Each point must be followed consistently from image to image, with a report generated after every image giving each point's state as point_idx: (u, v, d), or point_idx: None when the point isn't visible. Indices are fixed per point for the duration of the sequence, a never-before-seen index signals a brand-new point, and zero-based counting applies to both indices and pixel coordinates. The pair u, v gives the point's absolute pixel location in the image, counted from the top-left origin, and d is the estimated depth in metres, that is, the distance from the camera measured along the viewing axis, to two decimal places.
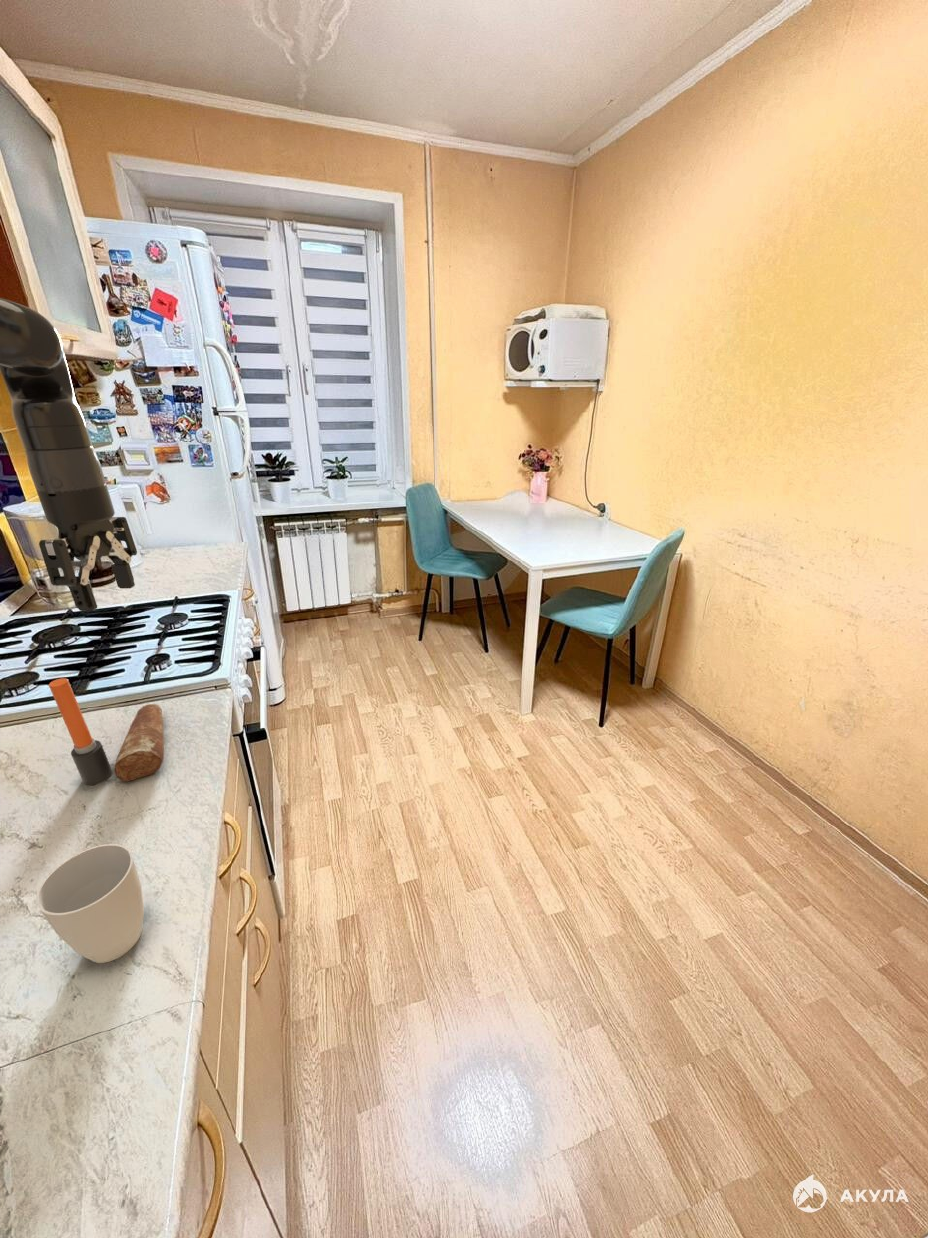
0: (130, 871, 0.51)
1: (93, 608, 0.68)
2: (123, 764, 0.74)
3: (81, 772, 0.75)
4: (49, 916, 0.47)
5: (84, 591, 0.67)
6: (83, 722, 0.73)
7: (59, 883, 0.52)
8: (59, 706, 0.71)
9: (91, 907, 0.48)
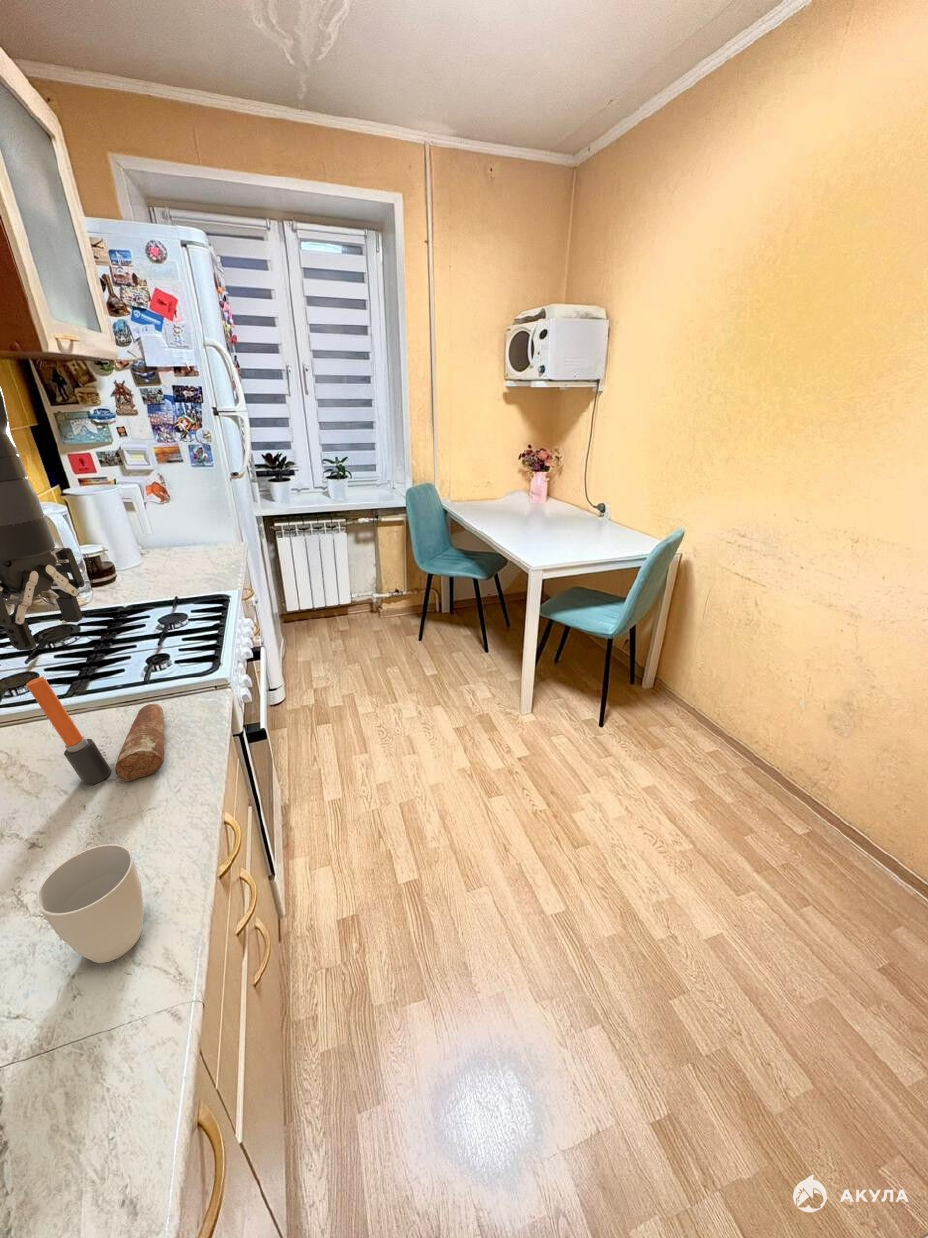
0: (130, 871, 0.51)
1: (31, 648, 0.64)
2: (124, 764, 0.74)
3: (77, 771, 0.75)
4: (49, 916, 0.47)
5: (21, 630, 0.63)
6: (68, 720, 0.73)
7: (59, 883, 0.52)
8: (40, 705, 0.71)
9: (91, 907, 0.48)
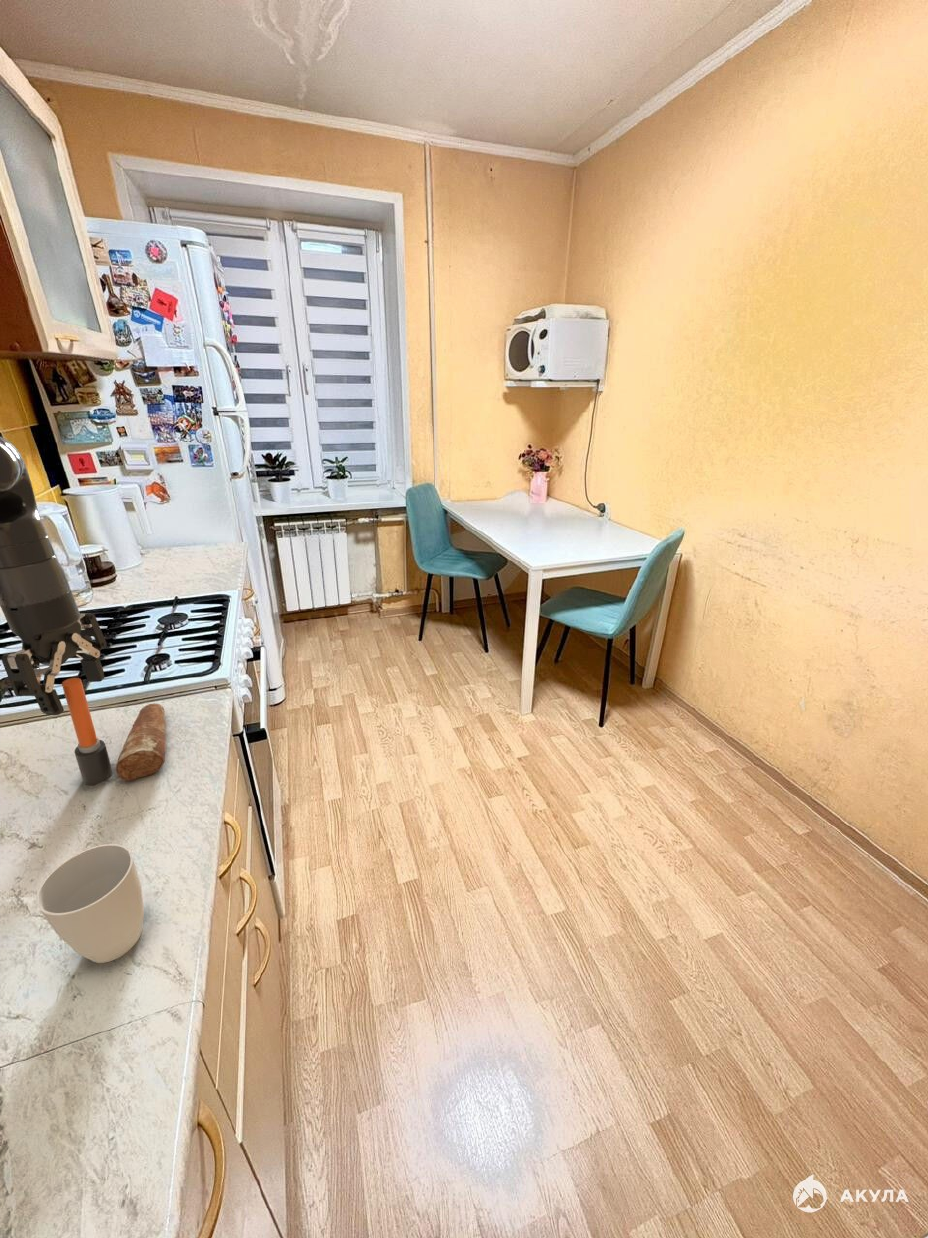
0: (130, 871, 0.51)
1: (59, 713, 0.68)
2: (125, 764, 0.75)
3: (82, 771, 0.75)
4: (49, 916, 0.47)
5: (50, 697, 0.67)
6: (90, 722, 0.73)
7: (59, 883, 0.52)
8: (69, 705, 0.71)
9: (91, 907, 0.48)
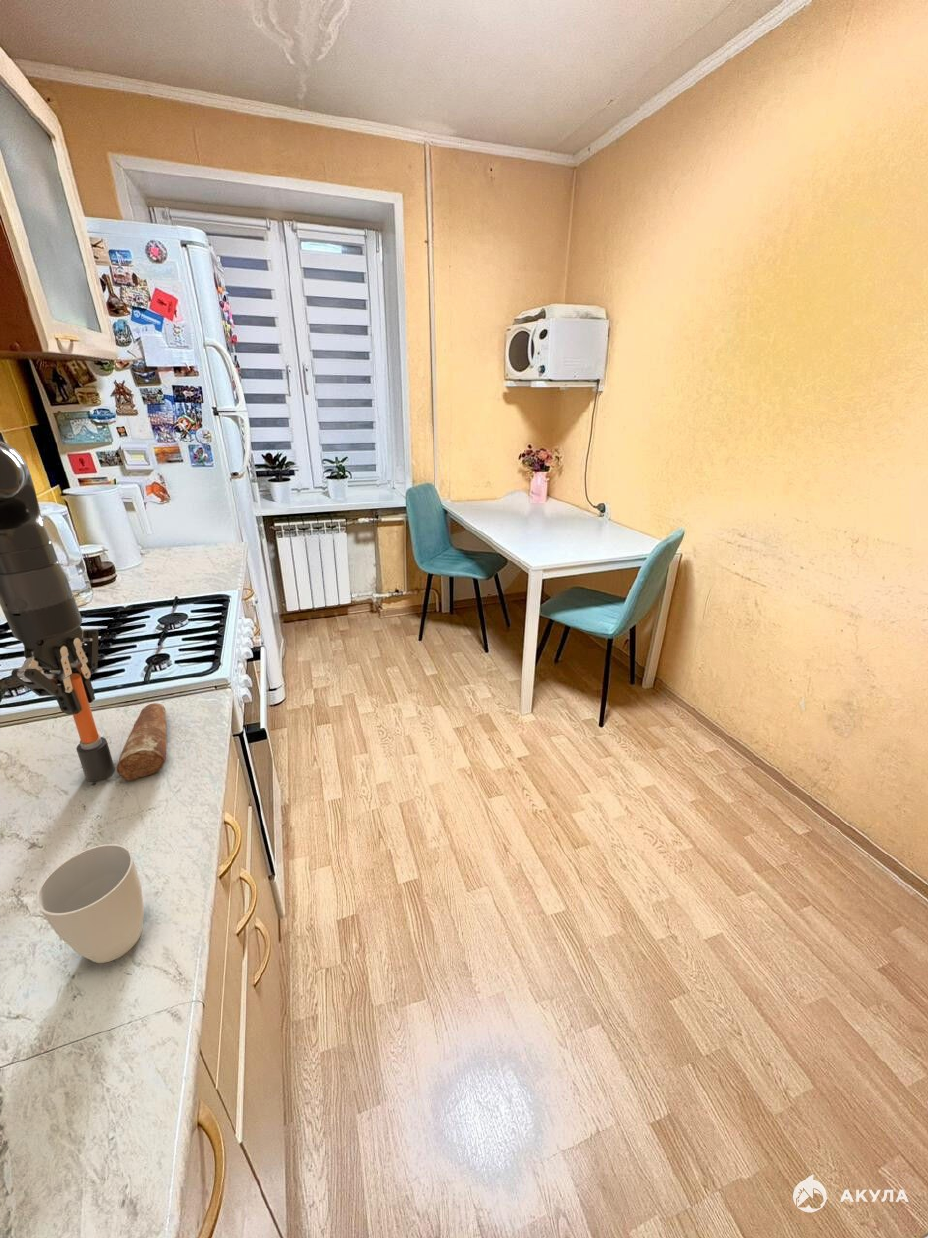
0: (130, 871, 0.51)
1: (78, 712, 0.72)
2: (125, 764, 0.75)
3: (84, 768, 0.76)
4: (49, 916, 0.47)
5: (69, 697, 0.70)
6: (91, 718, 0.74)
7: (59, 883, 0.52)
8: None
9: (91, 907, 0.48)
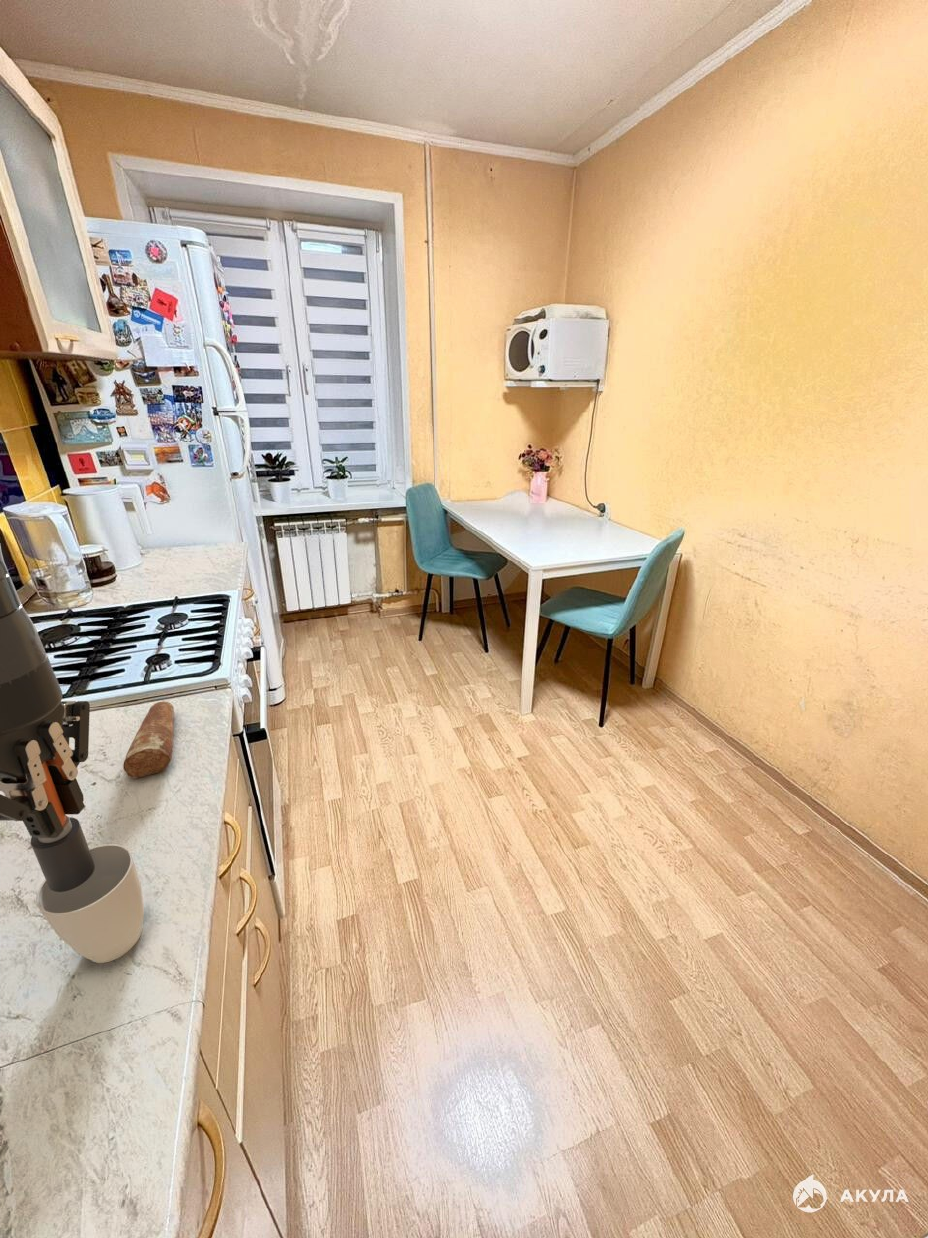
0: (130, 871, 0.51)
1: (57, 835, 0.46)
2: (131, 762, 0.75)
3: (43, 870, 0.48)
4: (49, 916, 0.47)
5: (43, 815, 0.45)
6: (52, 794, 0.46)
7: None
8: None
9: (91, 907, 0.48)
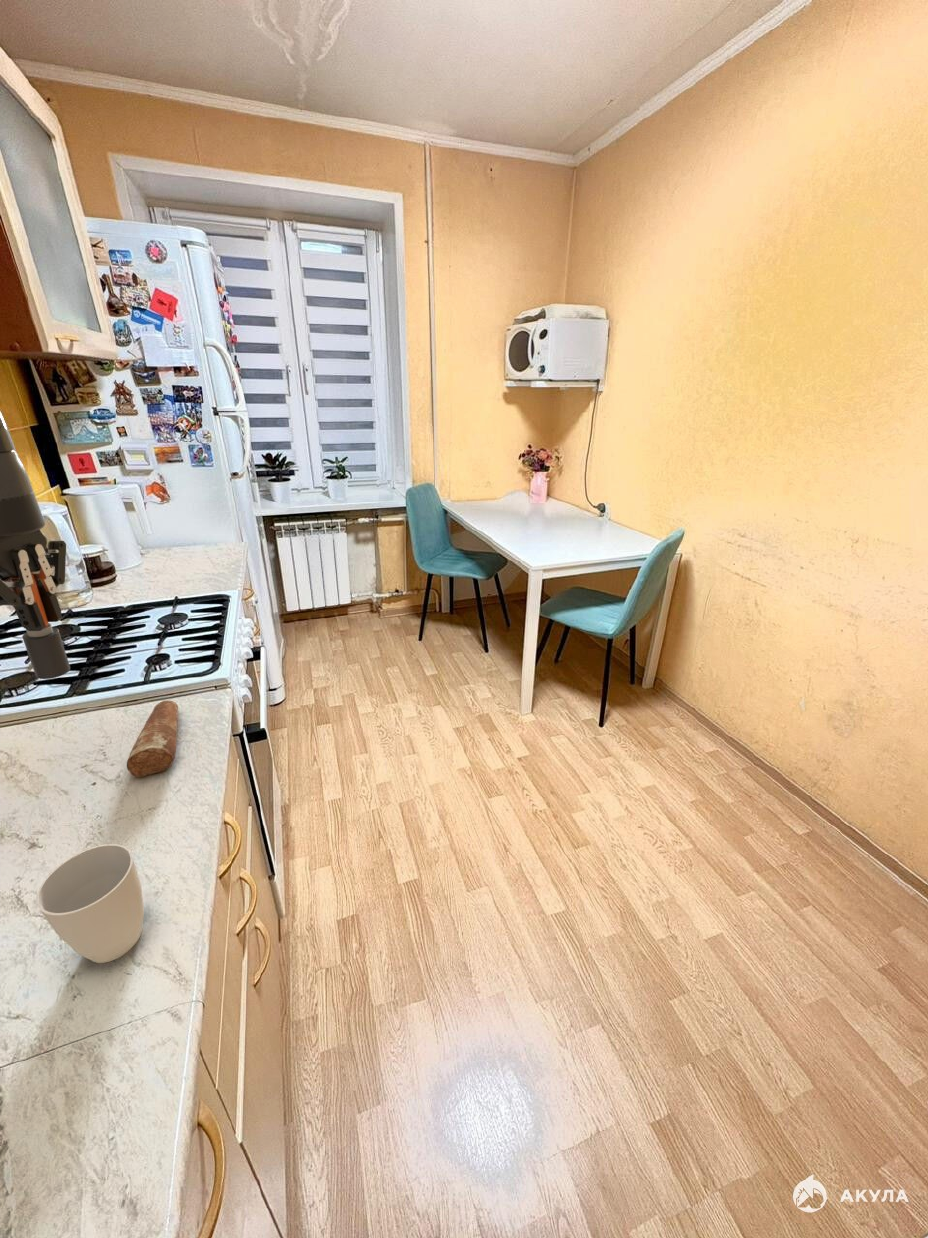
0: (130, 871, 0.51)
1: (41, 628, 0.64)
2: (135, 761, 0.75)
3: (32, 659, 0.66)
4: (49, 916, 0.47)
5: (31, 611, 0.63)
6: (38, 600, 0.64)
7: (59, 883, 0.52)
8: None
9: (91, 907, 0.48)
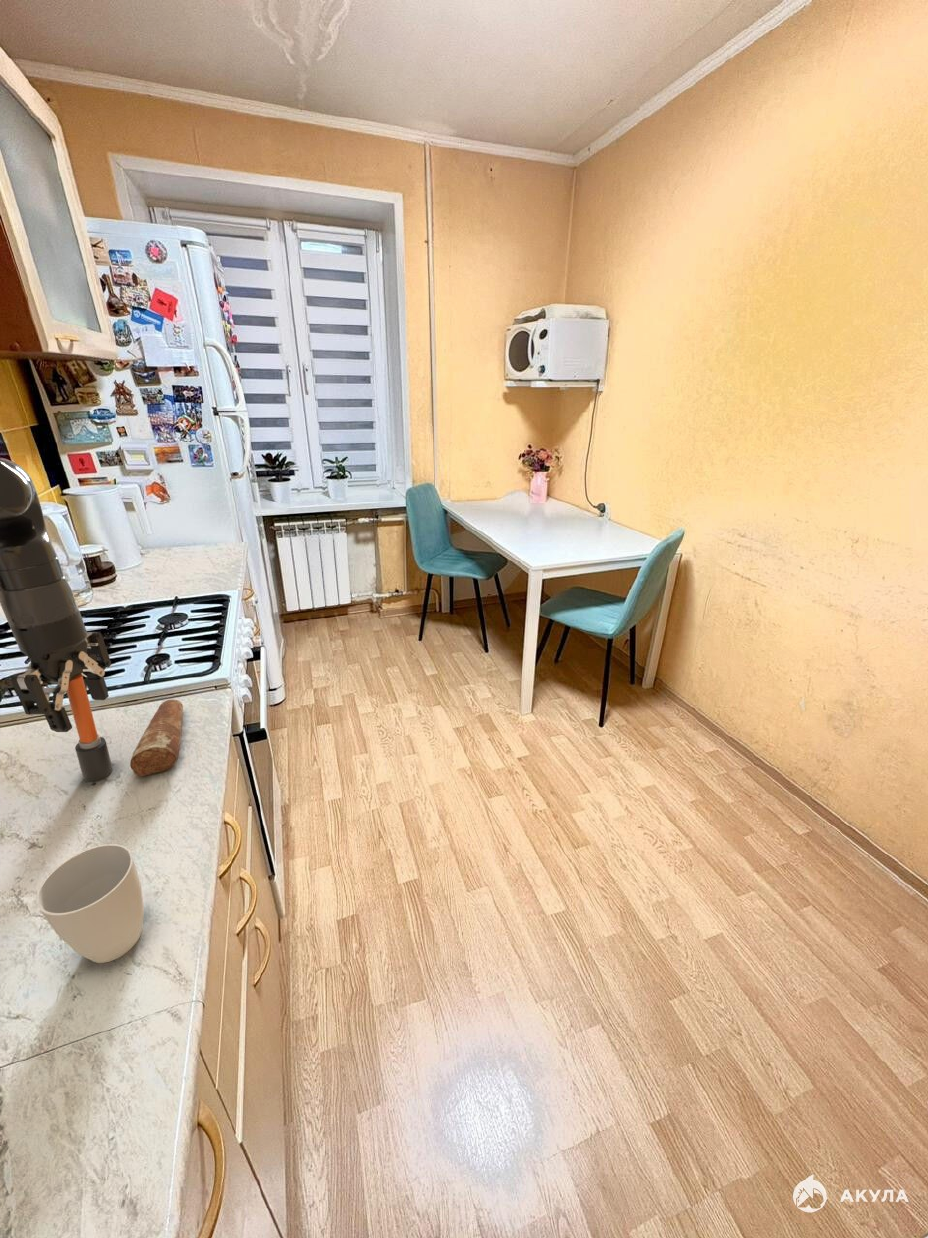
0: (130, 871, 0.51)
1: (68, 730, 0.70)
2: (138, 760, 0.75)
3: (82, 767, 0.76)
4: (49, 916, 0.47)
5: (59, 715, 0.69)
6: (91, 718, 0.74)
7: (59, 883, 0.52)
8: (70, 700, 0.72)
9: (91, 907, 0.48)
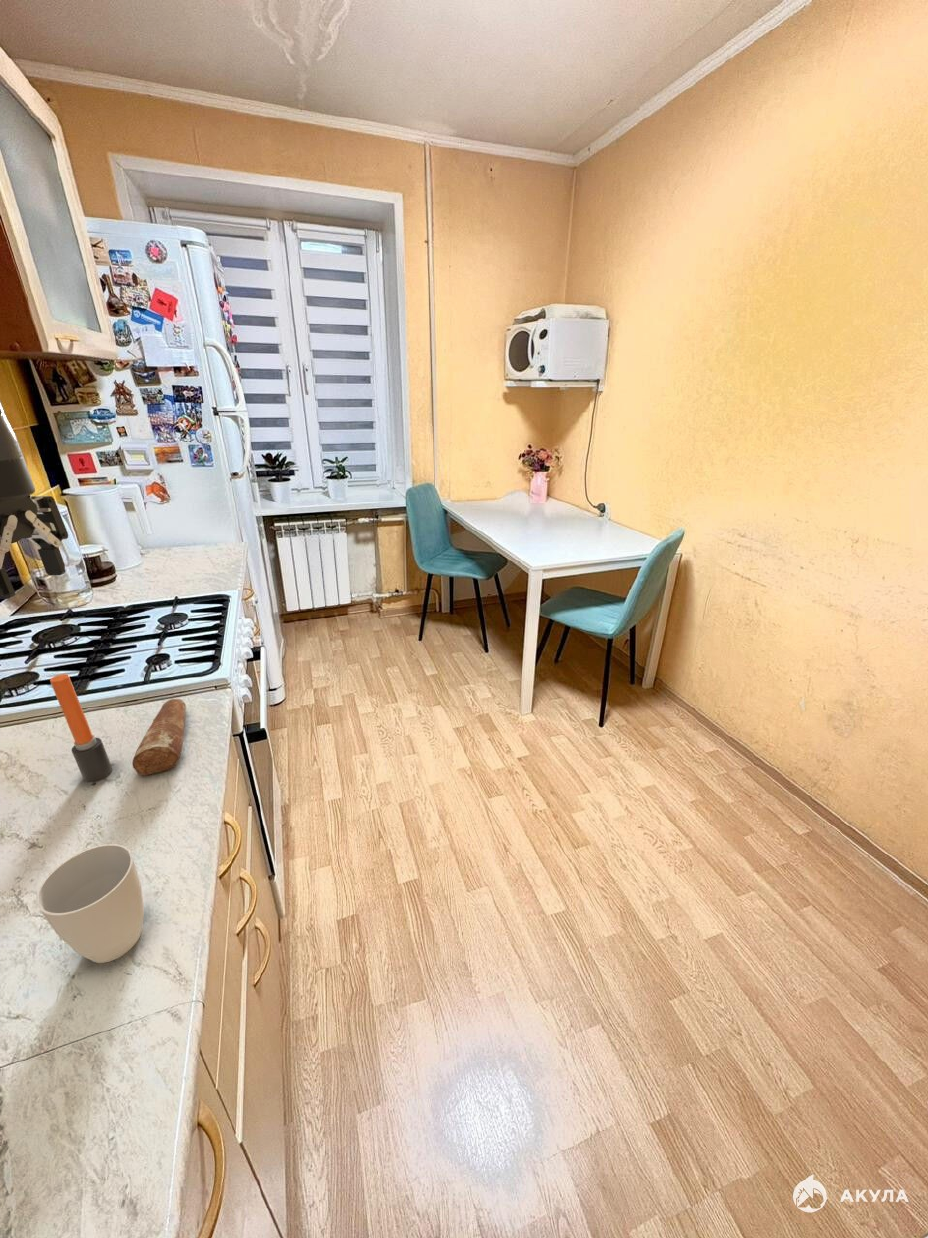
0: (130, 871, 0.51)
1: (10, 596, 0.61)
2: (140, 759, 0.75)
3: (80, 769, 0.76)
4: (49, 916, 0.47)
5: None
6: (83, 719, 0.74)
7: (59, 883, 0.52)
8: (59, 701, 0.72)
9: (91, 907, 0.48)
